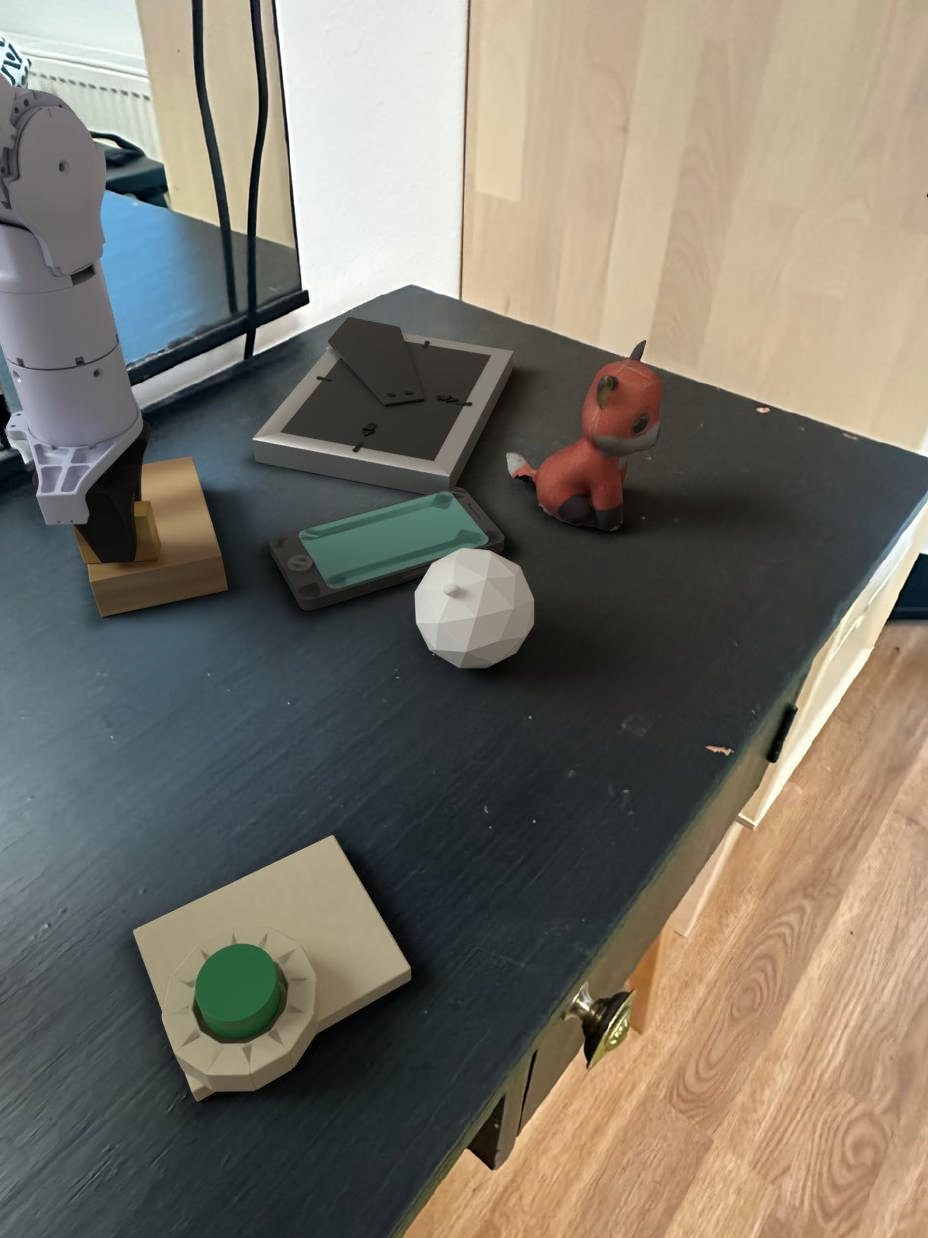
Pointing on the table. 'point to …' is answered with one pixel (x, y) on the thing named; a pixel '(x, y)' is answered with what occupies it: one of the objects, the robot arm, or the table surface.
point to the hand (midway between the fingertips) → (121, 547)
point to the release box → (302, 953)
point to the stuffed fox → (599, 447)
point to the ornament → (474, 608)
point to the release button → (238, 991)
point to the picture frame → (387, 409)
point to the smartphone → (380, 546)
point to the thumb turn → (144, 530)
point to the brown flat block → (166, 546)
